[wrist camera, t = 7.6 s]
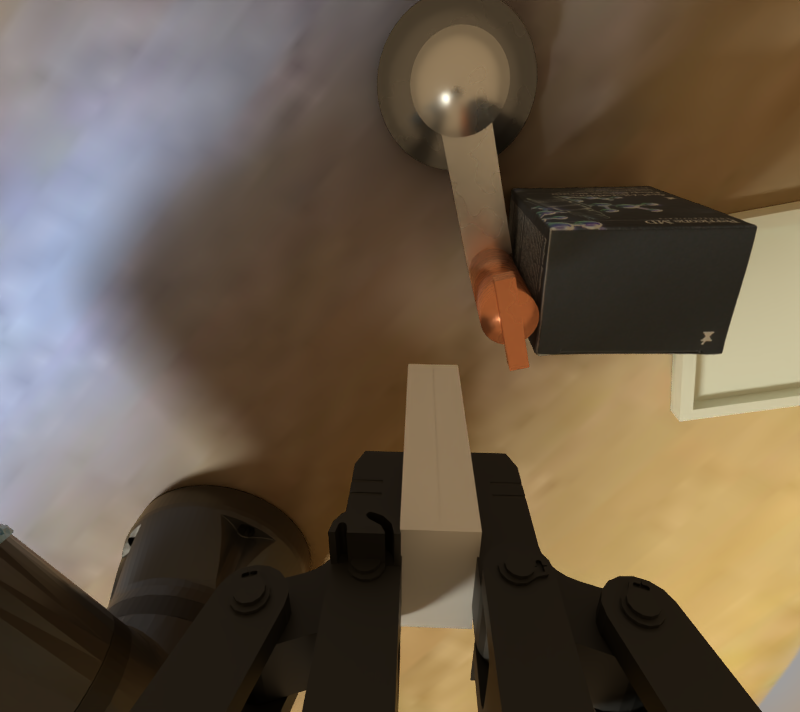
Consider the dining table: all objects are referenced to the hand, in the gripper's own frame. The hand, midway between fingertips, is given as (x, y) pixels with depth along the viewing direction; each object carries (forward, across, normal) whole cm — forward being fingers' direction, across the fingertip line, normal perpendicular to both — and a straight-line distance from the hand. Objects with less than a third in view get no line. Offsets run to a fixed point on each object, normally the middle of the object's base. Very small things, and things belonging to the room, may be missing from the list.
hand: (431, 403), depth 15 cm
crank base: (+17, +1, +9) cm, 19 cm away
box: (+17, +8, +2) cm, 19 cm away
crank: (+15, +2, +5) cm, 16 cm away
